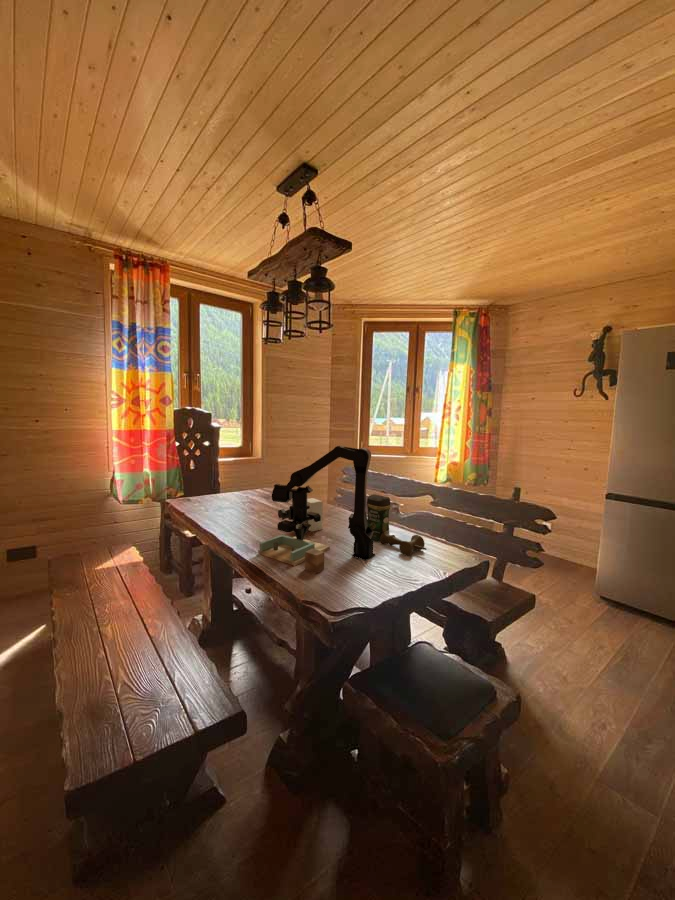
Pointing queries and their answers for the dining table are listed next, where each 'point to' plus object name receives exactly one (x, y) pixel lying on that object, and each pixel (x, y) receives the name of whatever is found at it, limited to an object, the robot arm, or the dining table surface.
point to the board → (283, 552)
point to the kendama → (403, 543)
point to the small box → (315, 507)
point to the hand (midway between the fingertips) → (299, 543)
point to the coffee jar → (378, 515)
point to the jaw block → (314, 560)
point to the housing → (289, 541)
